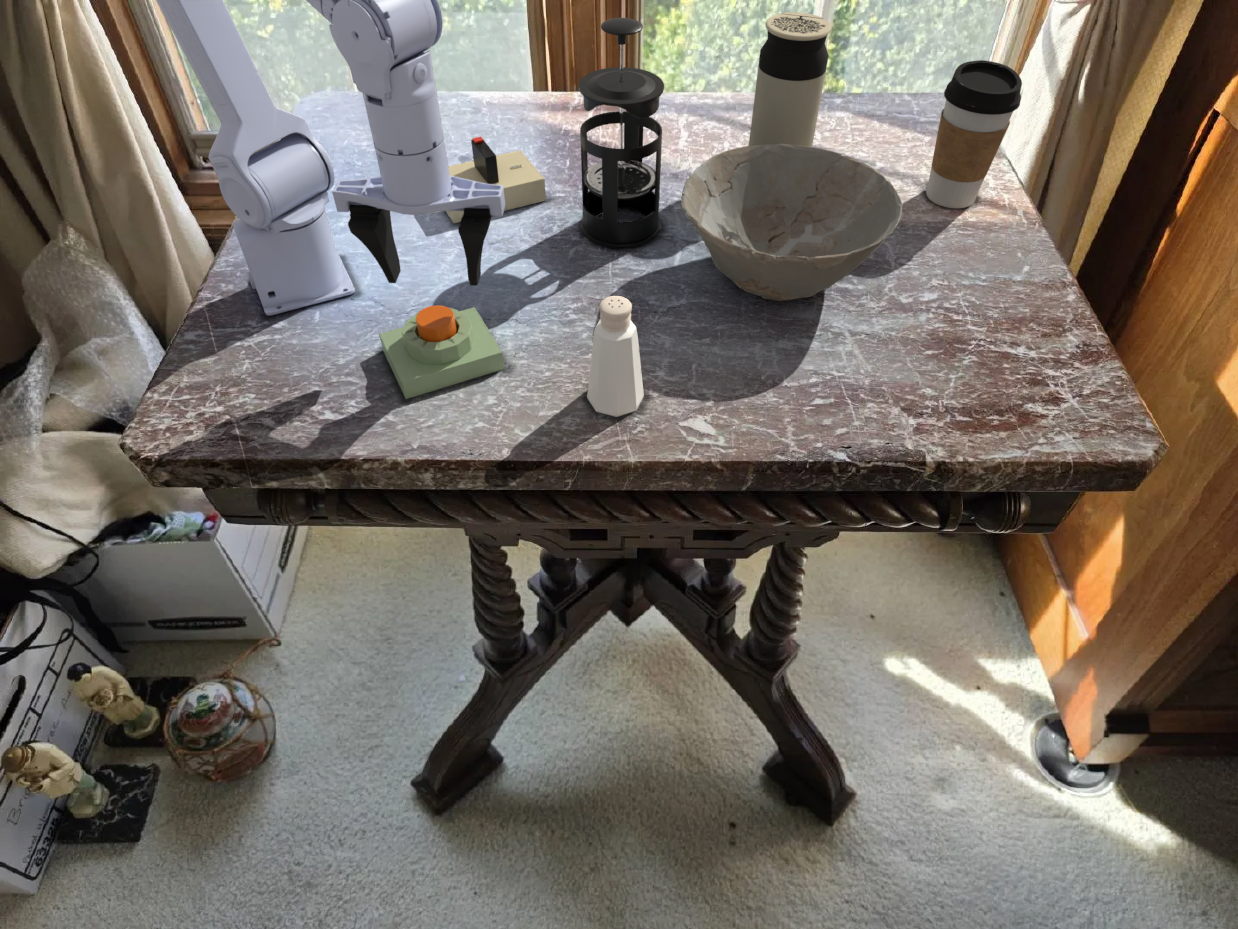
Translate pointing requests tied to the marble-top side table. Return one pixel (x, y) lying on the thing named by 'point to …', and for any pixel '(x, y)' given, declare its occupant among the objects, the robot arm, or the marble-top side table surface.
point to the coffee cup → (971, 130)
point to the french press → (621, 150)
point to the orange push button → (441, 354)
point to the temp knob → (485, 160)
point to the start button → (436, 323)
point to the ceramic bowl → (789, 216)
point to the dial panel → (506, 181)
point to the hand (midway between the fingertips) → (435, 278)
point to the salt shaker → (615, 360)
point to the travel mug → (790, 80)
